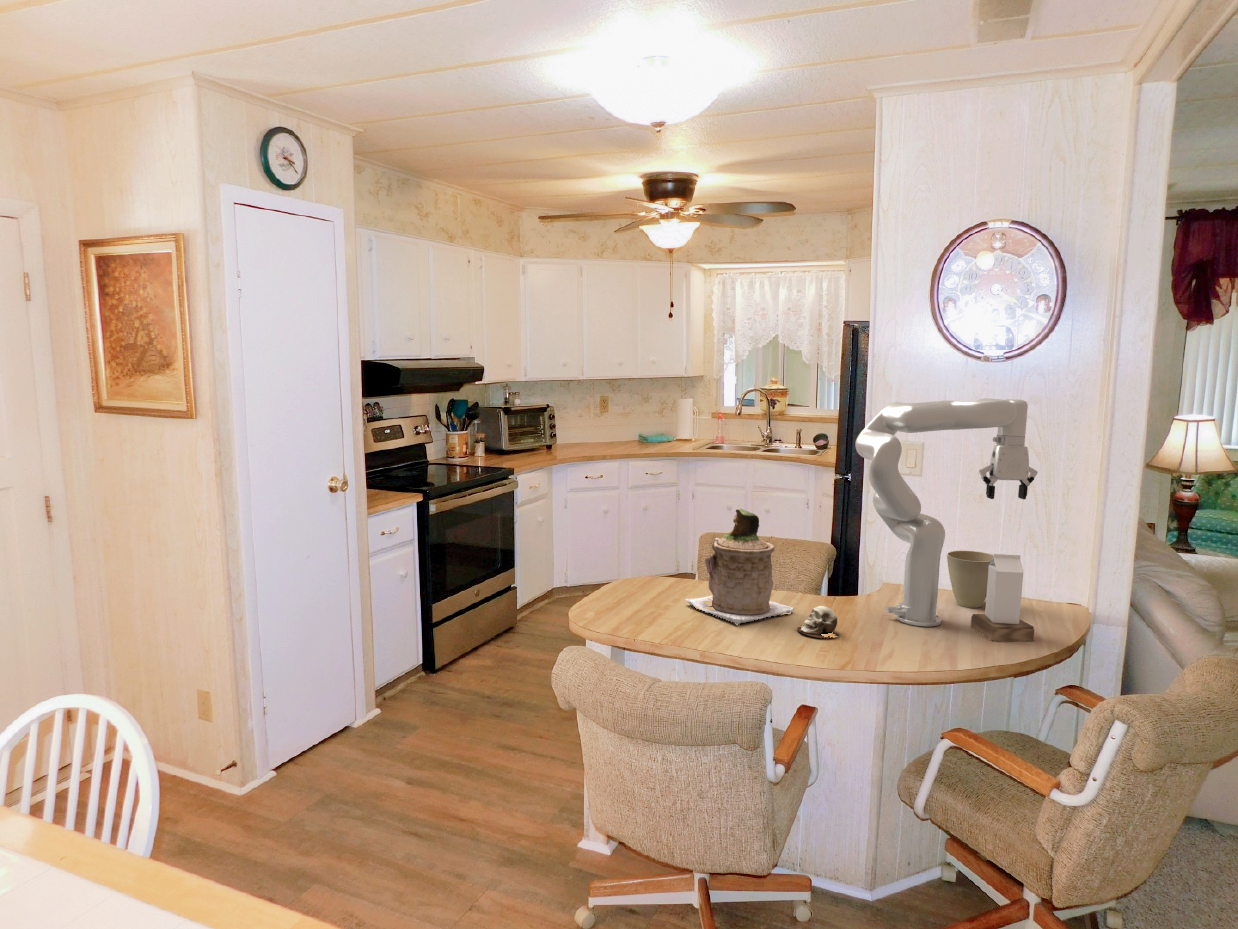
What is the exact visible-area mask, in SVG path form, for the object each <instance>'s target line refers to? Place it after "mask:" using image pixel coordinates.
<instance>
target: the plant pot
mask: <svg viewBox="0 0 1238 929" xmlns="http://www.w3.org/2000/svg"><path fill="white" fill-rule="evenodd" d="M993 556H994V554H992V553H987V552H984V551H983V552H982V551H975V550H953V551H952V550H951V551H948V552H947V553H946V561H947V568H948V569H947V570H948V575H949V580H950V583H951V588H952V592H953V596H954V598H955V602H956V604H957V606H961V607H963V608H970V609H971V608H972V609H975V608H976V609H978V607H979V608H981V607H982V606H983V605H984V602H986V596H987V583H988V570H989V564H990V562H991V561H992V559H993Z"/></svg>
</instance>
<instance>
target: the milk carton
mask: <svg viewBox="0 0 1238 929" xmlns="http://www.w3.org/2000/svg"><path fill="white" fill-rule="evenodd" d="M993 555H994V556H993V559H992V561H991V562H990V564H989V570H988V583H987V596H986V598H985V611H984V614H985V615H986V616H987V617H988V618H989V619H990V620H991V621H992V622H993V623H1007V624H1019V620H1020V619H1021V617H1020V616H1021V609H1022V608H1021V606H1022V594H1023V581H1024V569H1023V565H1022V561H1021V554H1020V555H1019V554H1003V553H1002V554H1001V553H999V554H998V553H993Z"/></svg>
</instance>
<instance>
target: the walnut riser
mask: <svg viewBox="0 0 1238 929" xmlns="http://www.w3.org/2000/svg"><path fill="white" fill-rule="evenodd" d="M970 620H971V621H970V628H971V627H972V629H973V630H974V631H976V632H977V633H979V632H980V633H981V634H980V633H979V634H980V635H982V634H983V635H984V636H983V635H982V636H983V637H985V638H986V637H987V638H986V639H988V638H989V639H990V640H991V641H990V640H989V639H988V640H989V641H990V642H1034V640H1035V628H1034V626H1033V625H1031V624H1029V623H1027V622H1026V621H1024V620H1022V618H1020V620H1019V624H1007V623H993V622H992V621H991V620H990V619H989V618H988V617H987V616H986V615H985V613H973V614H972V615H971V619H970ZM992 640H993V641H992ZM1027 640H1029V641H1027Z"/></svg>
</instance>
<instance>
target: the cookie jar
mask: <svg viewBox="0 0 1238 929" xmlns="http://www.w3.org/2000/svg"><path fill="white" fill-rule="evenodd" d="M735 513H736V514H735V515H734V517H733V519H732V520H733V523H734V526H733V529H732V530H731V531H729V532H728V533H726V534H724V535H723V536H721V538H719V537H716V538H714V540H713V543H712V545H711V548H712V550H713V551H714V553H711V554H710V555H709V556H707V557H706V558H705V560H704V564H705V566H706V570H707V573H708V574H709V578H708V589H709V591H710V592H711V594H712V595H707V596H701V597H698V598H686V599H685V601H686V602H687V604H689V605H690V606H692V605H693V606H694V607H697V608H699V609H701V610H703V611H705V612H704V613H706V612H707V613H706V614H708V613H712V614H714V615H716V616H715V617H717V616H718V617H717V618H719V617H720V619H722V618H723V620H724V619H727V620H729V621H732V622H734V623H736V624H739V625H740V624H742V623H747V622H754V620H755V621H759V620H762V619H763V618H764V619H767V618H766V617H768V618H772V617H771V616H774V617H777V616H776V615H780V614H783V613H790V612H792V613H793V612H794V609H795V608H794V607H792V606H790V605H785V604H782V603H778V602H777V601H776V602H775V601H772V600H771V595H772V591H773V587H774V586H773V585H774V582H773V565H772V554H773V552H775V545H773V544H772V543H770V542H767V541H765V540H763V539H761V538H760V537H759V536H758V531H759V527H760V518H759V516H758V515H756V514H755V513H753V512H750V511H748V510H745V509H742V508H737V509H736V510H735ZM712 596H713V600H712ZM708 598H709V599H711V600H712V606H708V605H707V604H706V603H704V602H702V601H710V600H709V599H708ZM769 601H770V602H769ZM693 606H692V607H693ZM694 607H693V608H694ZM703 607H713V608H714V609H715V610H710V609H705V608H703ZM770 607H771V608H770ZM703 611H702V612H703ZM714 615H713V616H714ZM780 616H781V615H780ZM758 619H759V620H758ZM727 620H726V621H727ZM729 621H728V622H729ZM732 622H731V623H732ZM734 623H733V624H734ZM736 624H735V625H736Z"/></svg>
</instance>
